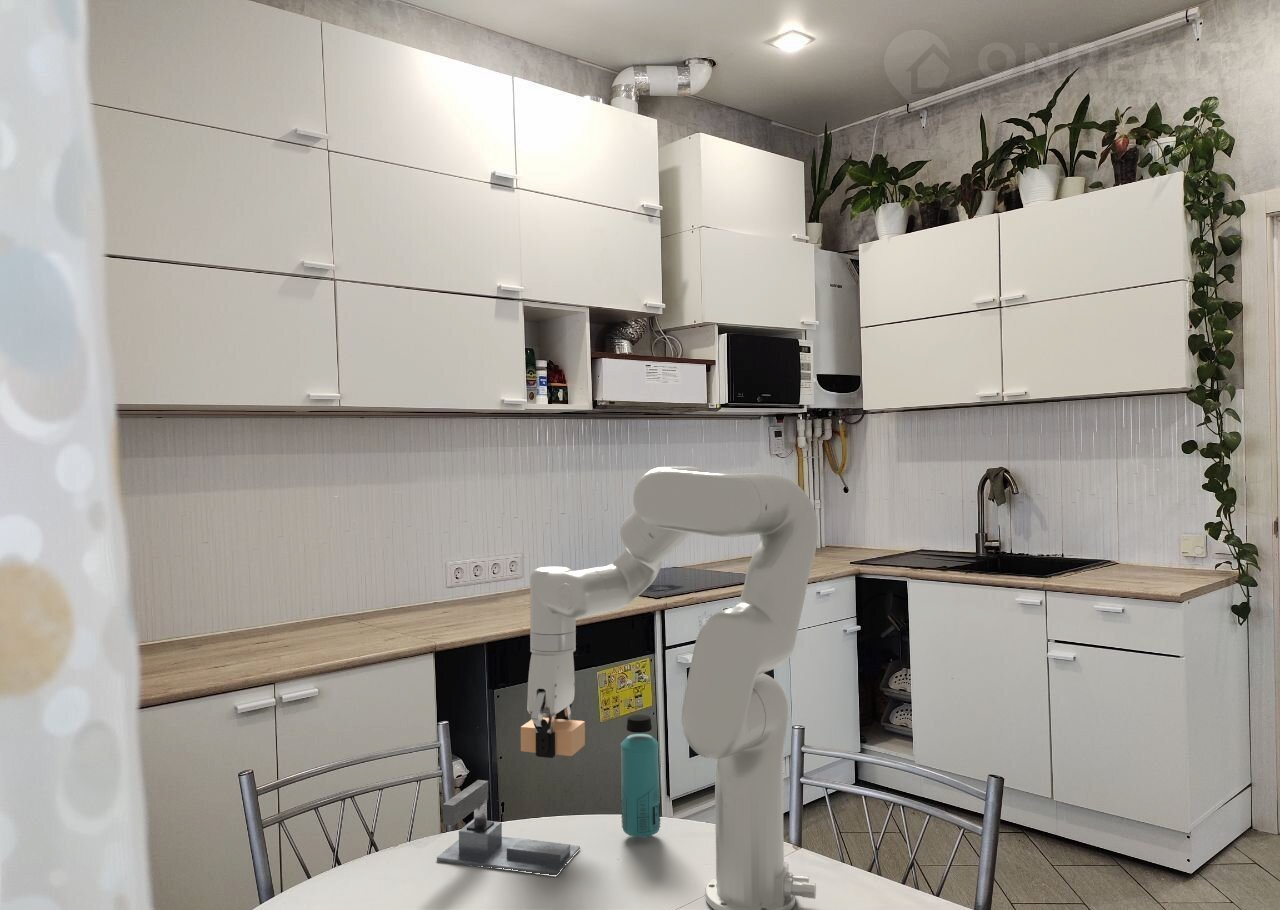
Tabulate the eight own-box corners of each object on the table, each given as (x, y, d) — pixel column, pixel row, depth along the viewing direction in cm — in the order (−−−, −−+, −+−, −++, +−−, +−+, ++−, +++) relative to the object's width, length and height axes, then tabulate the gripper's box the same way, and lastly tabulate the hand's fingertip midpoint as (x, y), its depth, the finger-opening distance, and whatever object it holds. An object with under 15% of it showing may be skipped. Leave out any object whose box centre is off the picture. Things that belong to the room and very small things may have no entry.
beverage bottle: (657, 847, 145) (655, 722, 146) (616, 844, 147) (615, 720, 147) (664, 831, 152) (662, 711, 152) (625, 829, 153) (624, 710, 153)
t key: (454, 849, 135) (454, 805, 135) (442, 847, 135) (442, 804, 136) (489, 821, 145) (488, 781, 145) (477, 820, 146) (477, 779, 146)
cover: (585, 745, 152) (584, 721, 152) (571, 756, 147) (571, 731, 147) (535, 740, 155) (535, 717, 155) (520, 751, 149) (520, 726, 149)
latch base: (580, 849, 145) (579, 822, 145) (556, 877, 135) (555, 848, 136) (467, 836, 151) (467, 810, 151) (436, 861, 141) (436, 833, 141)
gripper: (552, 631, 160) (552, 733, 160) (510, 650, 144) (510, 765, 144) (592, 633, 158) (592, 737, 158) (554, 653, 142) (554, 769, 142)
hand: (553, 749), depth 151 cm, fingers closed on cover, 6 cm apart
